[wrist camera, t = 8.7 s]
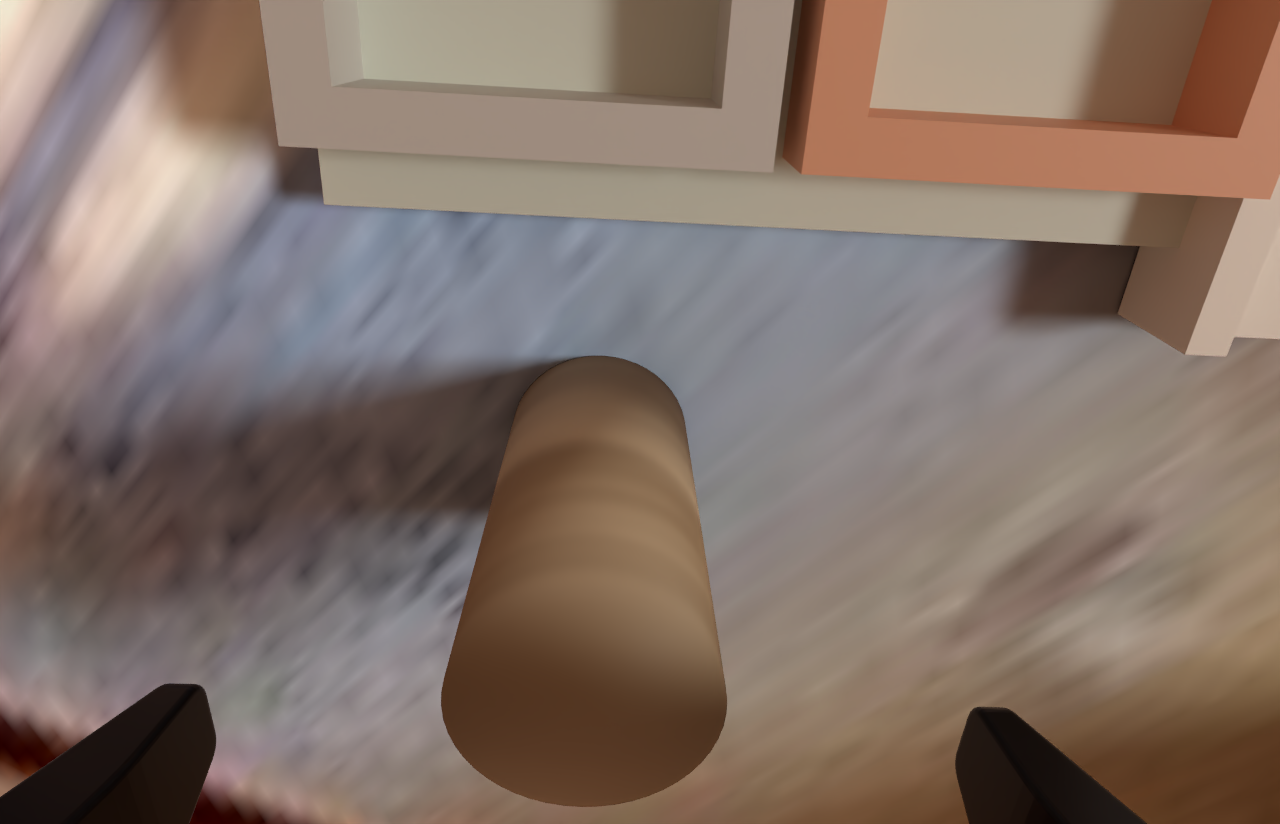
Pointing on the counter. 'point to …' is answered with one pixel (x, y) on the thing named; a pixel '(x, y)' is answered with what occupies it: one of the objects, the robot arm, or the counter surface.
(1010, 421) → the counter surface
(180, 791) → the robot arm
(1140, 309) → the housing base
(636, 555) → the peg
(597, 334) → the counter surface
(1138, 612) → the counter surface
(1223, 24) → the board
